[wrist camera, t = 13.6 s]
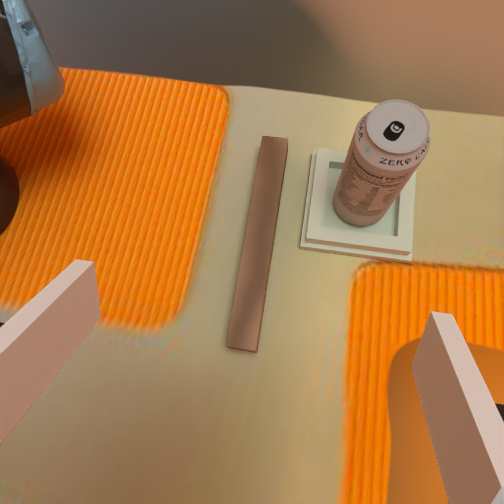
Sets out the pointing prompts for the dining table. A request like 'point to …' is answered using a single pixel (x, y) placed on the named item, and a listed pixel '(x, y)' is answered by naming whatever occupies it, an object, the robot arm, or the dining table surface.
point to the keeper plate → (349, 235)
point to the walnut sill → (258, 246)
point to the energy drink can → (381, 160)
